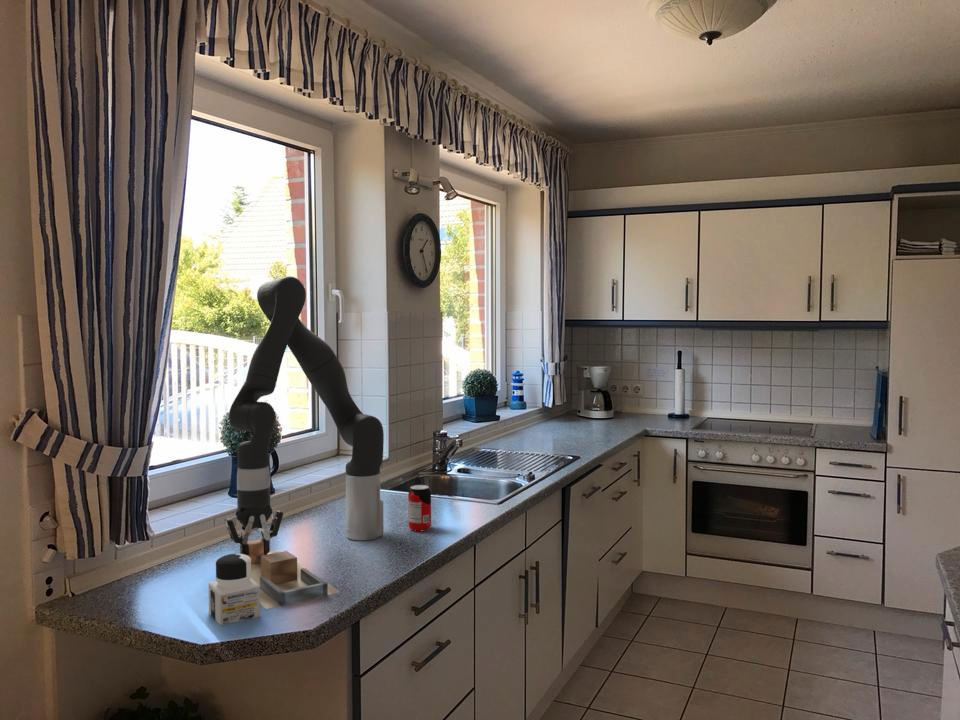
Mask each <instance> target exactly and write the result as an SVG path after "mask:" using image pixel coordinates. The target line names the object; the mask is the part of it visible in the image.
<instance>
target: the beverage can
mask: <svg viewBox="0 0 960 720" xmlns="http://www.w3.org/2000/svg"><path fill="white" fill-rule="evenodd" d="M429 488H430V486H428V485H426V484H425V485H424V484H415V485H412V486H410V489H409V492H408V494H407V495H408V496H407V497H408V499H407V500H408V501H407V502H408V504H407V505H408V510H407V511H408V527H409V529H410V530H411V531H413V530H416V531H415V532H422V531H421V530H426V531H428V530H429V529H430V528H431V526H432V492H431V490H430V489H429ZM427 529H428V530H427Z"/></svg>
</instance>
